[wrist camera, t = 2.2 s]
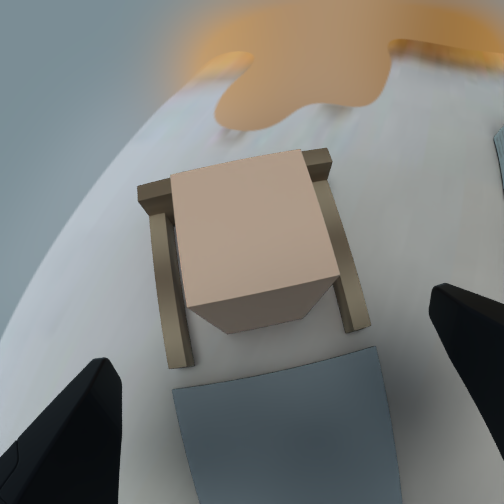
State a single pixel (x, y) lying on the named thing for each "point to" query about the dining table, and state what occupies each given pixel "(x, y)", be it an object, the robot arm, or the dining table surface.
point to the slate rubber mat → (293, 436)
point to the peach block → (252, 241)
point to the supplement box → (500, 149)
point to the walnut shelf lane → (167, 271)
